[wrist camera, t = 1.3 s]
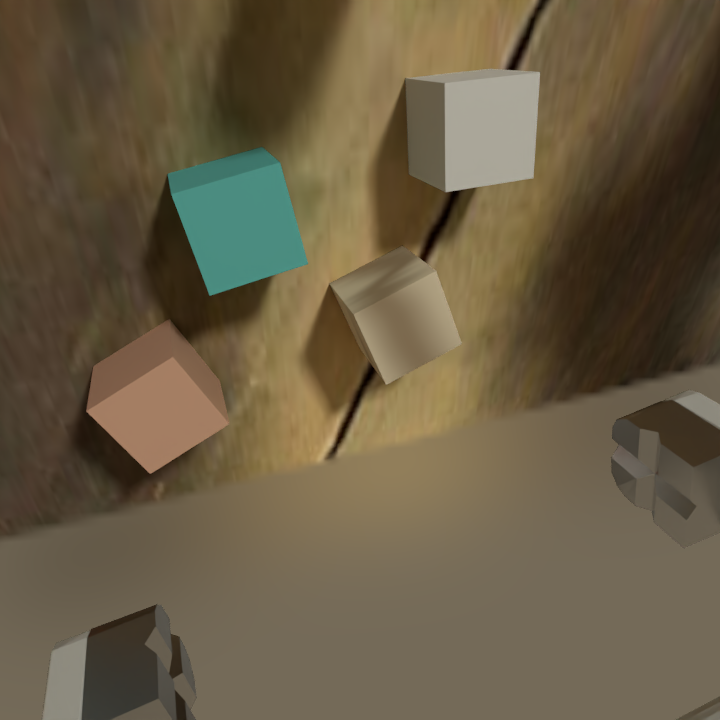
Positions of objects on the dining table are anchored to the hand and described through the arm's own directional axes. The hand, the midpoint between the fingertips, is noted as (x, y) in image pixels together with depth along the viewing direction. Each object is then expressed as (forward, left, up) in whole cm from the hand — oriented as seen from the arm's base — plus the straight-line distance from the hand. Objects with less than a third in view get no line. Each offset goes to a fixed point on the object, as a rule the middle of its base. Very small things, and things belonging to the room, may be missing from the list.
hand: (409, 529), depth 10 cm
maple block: (-7, +8, -26) cm, 28 cm away
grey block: (-13, -1, -26) cm, 29 cm away
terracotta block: (+7, +8, -26) cm, 28 cm away
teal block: (0, 0, -26) cm, 26 cm away
